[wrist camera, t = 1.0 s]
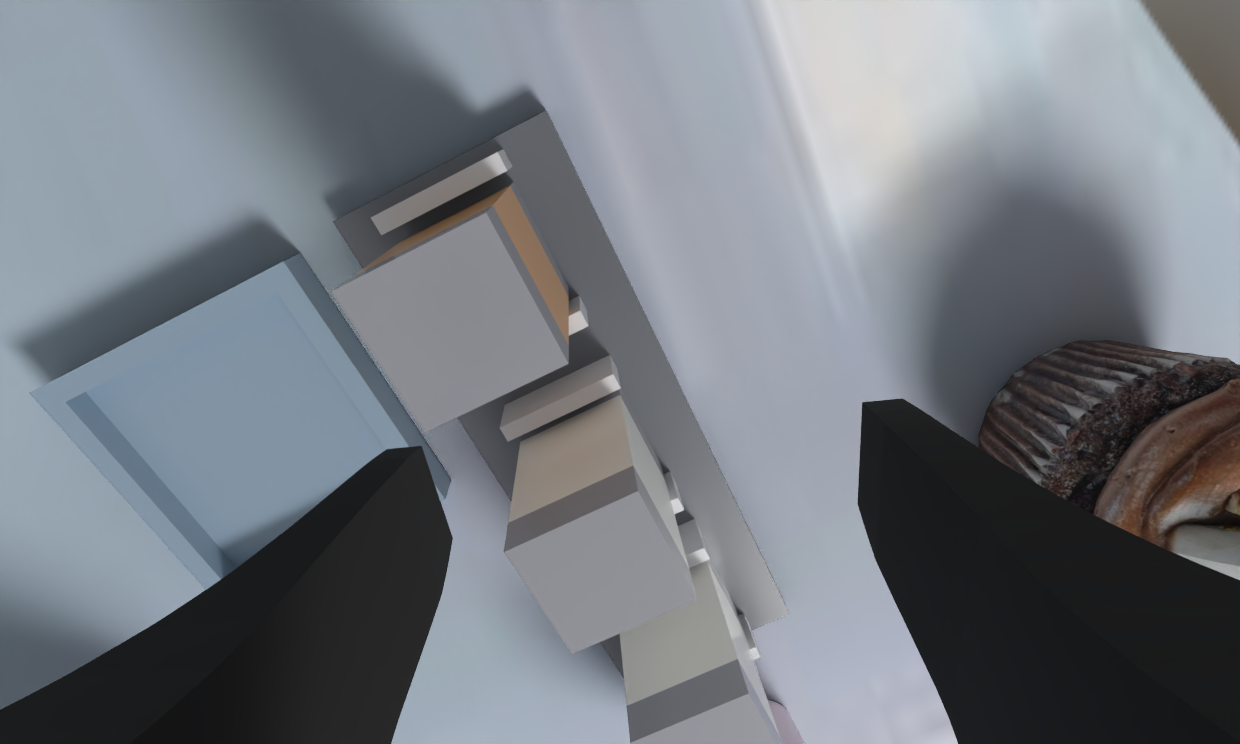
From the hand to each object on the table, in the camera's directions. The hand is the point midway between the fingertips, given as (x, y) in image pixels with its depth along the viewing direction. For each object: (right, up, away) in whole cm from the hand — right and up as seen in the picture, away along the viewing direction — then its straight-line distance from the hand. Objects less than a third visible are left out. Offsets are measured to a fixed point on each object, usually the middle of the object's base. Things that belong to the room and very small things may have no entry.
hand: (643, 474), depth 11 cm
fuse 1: (-1, -1, +15) cm, 15 cm away
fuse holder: (-1, -1, +16) cm, 16 cm away
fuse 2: (+2, -8, +18) cm, 19 cm away
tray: (-14, -1, +15) cm, 20 cm away
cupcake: (+19, -1, +17) cm, 25 cm away
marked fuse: (-5, +6, +12) cm, 14 cm away
